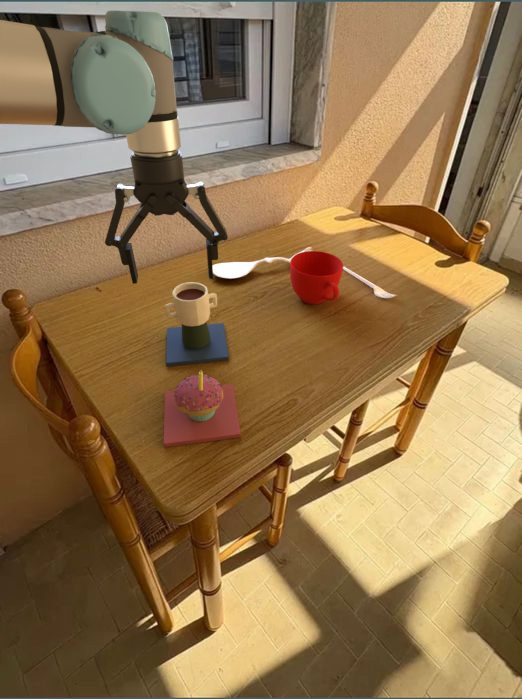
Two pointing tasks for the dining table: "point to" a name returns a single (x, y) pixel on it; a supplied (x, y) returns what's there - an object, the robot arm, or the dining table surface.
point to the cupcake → (198, 396)
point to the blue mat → (186, 355)
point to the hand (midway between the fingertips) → (173, 277)
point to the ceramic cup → (315, 276)
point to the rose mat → (201, 422)
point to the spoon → (244, 266)
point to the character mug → (192, 312)
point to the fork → (377, 290)
